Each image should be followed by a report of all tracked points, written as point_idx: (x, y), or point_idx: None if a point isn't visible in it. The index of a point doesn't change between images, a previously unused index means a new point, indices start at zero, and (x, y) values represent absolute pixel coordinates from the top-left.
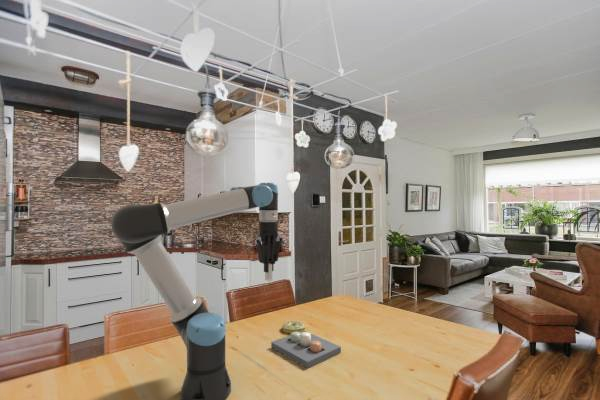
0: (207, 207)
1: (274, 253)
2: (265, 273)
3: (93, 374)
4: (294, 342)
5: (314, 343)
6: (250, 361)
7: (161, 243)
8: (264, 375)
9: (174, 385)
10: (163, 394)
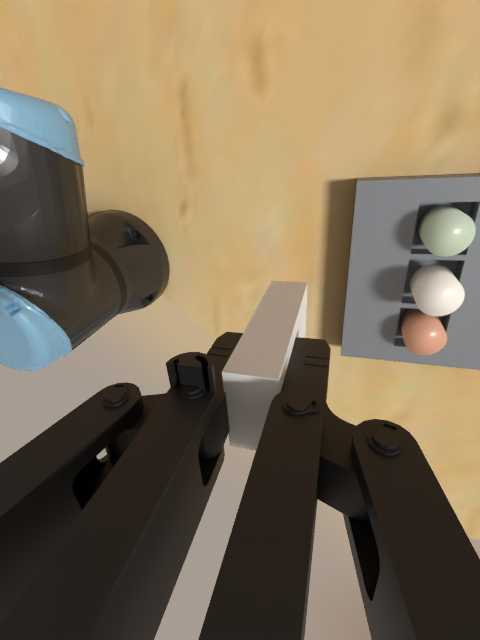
0: None
1: (386, 620)
2: (258, 310)
3: None
4: (421, 240)
5: (420, 337)
6: (256, 204)
7: None
8: (248, 288)
9: None
10: None
